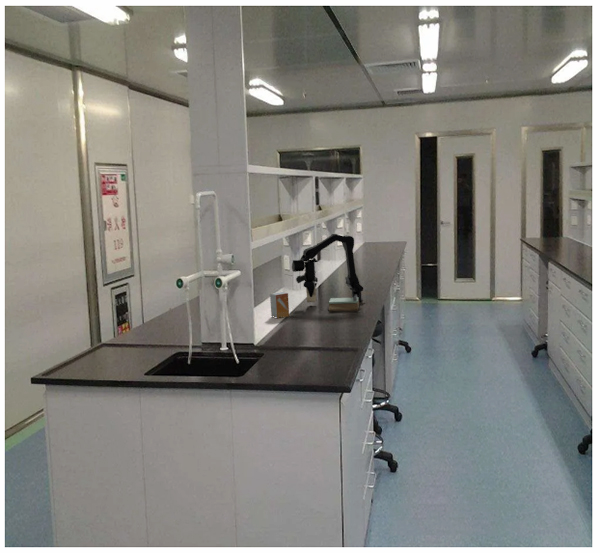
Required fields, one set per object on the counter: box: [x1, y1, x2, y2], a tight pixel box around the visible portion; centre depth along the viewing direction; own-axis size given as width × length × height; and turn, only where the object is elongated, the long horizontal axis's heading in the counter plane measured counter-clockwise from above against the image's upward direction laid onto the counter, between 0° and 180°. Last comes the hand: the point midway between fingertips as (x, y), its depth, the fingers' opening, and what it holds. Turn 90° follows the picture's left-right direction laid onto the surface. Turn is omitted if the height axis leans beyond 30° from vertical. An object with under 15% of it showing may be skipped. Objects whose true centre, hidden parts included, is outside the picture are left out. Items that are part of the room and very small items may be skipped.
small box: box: [269, 291, 290, 319], centre depth 325 cm, size 8×6×13 cm
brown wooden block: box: [305, 285, 317, 303], centre depth 350 cm, size 4×5×9 cm
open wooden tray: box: [328, 300, 360, 312], centre depth 336 cm, size 12×16×4 cm
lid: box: [328, 295, 359, 305], centre depth 335 cm, size 12×16×3 cm
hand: (311, 296), depth 350 cm, fingers closed on brown wooden block, 4 cm apart
